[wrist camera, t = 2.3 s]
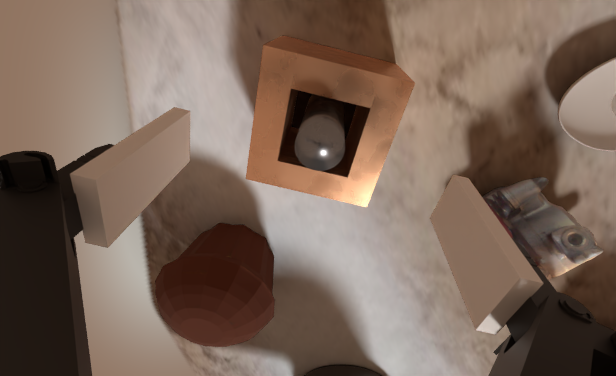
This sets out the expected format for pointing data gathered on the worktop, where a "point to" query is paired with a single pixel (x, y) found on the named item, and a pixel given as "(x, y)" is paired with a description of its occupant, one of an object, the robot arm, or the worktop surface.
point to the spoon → (591, 108)
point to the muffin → (219, 287)
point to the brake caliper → (542, 227)
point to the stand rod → (321, 134)
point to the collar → (333, 84)
